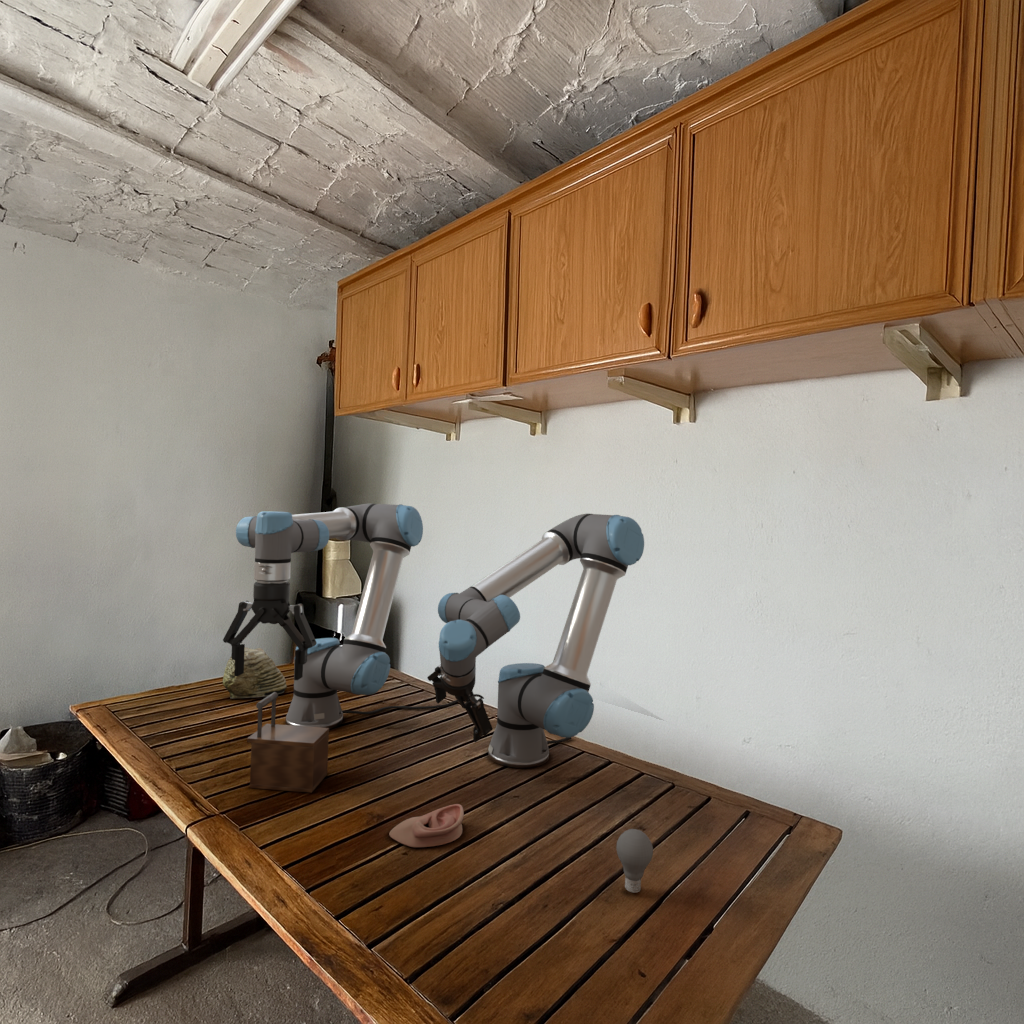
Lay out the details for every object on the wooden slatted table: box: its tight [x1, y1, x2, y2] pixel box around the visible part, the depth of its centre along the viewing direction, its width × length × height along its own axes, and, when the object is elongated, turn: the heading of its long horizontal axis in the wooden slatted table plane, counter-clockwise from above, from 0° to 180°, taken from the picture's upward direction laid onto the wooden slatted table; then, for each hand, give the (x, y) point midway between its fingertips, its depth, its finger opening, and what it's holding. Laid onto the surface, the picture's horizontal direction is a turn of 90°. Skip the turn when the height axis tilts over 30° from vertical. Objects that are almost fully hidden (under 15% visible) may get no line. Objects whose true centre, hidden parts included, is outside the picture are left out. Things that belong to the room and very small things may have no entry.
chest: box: [249, 731, 330, 794], centre depth 140 cm, size 14×9×10 cm, turn 86°
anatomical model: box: [388, 803, 465, 848], centre depth 121 cm, size 13×4×12 cm
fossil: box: [222, 646, 288, 699], centre depth 198 cm, size 9×18×15 cm, turn 132°
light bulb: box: [615, 828, 654, 894], centre depth 106 cm, size 6×6×10 cm
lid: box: [246, 692, 330, 747], centre depth 140 cm, size 15×9×9 cm, turn 86°
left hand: (268, 676), depth 140 cm, fingers open, 13 cm apart
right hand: (459, 718), depth 154 cm, fingers open, 13 cm apart
